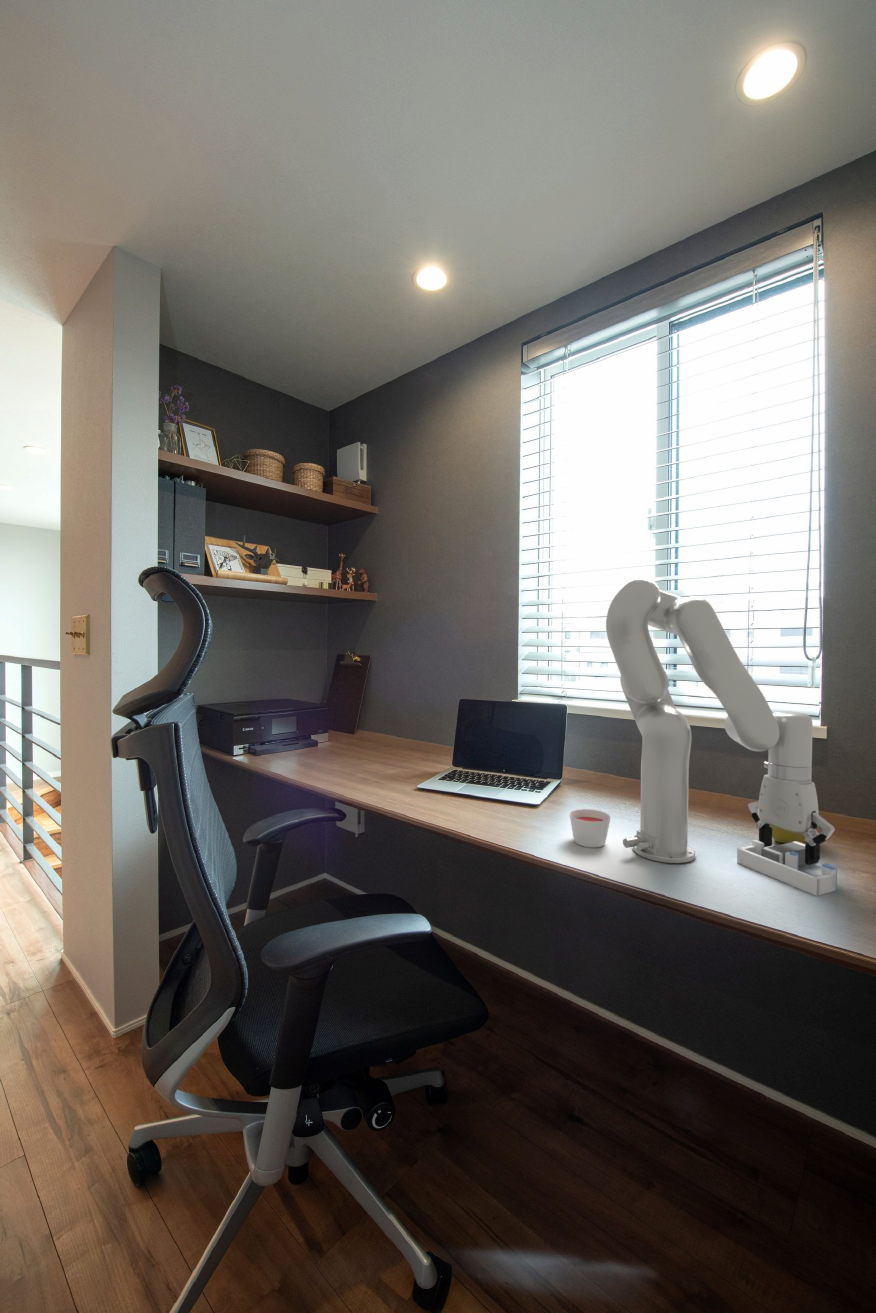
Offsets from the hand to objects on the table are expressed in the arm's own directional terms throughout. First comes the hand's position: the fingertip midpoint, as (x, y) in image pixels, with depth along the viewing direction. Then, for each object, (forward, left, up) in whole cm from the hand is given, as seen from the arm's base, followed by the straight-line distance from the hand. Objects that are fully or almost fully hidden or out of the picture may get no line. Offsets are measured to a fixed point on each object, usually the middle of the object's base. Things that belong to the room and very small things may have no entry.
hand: (787, 854), depth 112 cm
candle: (-30, +26, -2) cm, 40 cm away
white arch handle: (-6, -3, -2) cm, 7 cm away
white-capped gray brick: (0, 0, -2) cm, 2 cm away
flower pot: (+13, +9, -2) cm, 16 cm away
